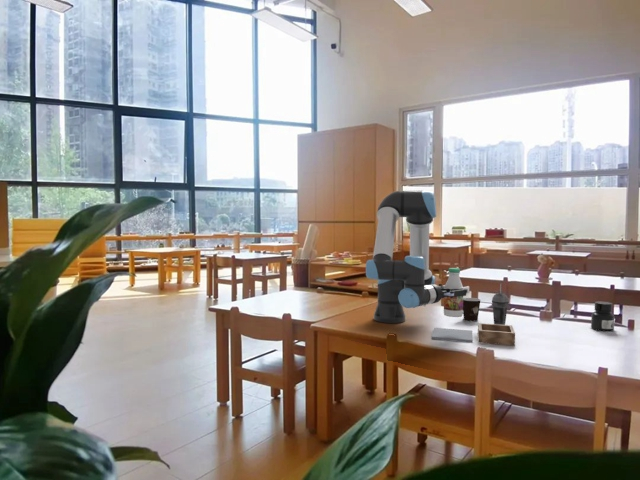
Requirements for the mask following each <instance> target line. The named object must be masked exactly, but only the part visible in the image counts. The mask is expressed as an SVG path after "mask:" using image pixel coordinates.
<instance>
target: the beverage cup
mask: <svg viewBox="0 0 640 480" xmlns="http://www.w3.org/2000/svg"><path fill="white" fill-rule="evenodd" d="M491 304H492V314H493V315H492V316H493V324H498V325H506V320H507V313H508V307H509V298H508V296H507V295H506V294H505V293H503V292H502V283H500V284H499V292H497V293H494V295H493V296H492V299H491Z"/></svg>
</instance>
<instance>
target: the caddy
mask: <svg viewBox="0 0 640 480" xmlns="http://www.w3.org/2000/svg"><path fill="white" fill-rule="evenodd" d="M477 339H478V344H485V345H486V344H489V345H501V346H512V347H515V346H516V332H515V330H514V326H513V325H510V324H505V325H498V324H494V323H484V322H483V323H481V322H478V323H477Z"/></svg>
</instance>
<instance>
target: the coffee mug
mask: <svg viewBox="0 0 640 480" xmlns="http://www.w3.org/2000/svg"><path fill="white" fill-rule="evenodd" d="M480 306H481V299H480V298H476V297H463V315H462V316H463V320H464V321H467V322H477V321H478V319H479V311H480Z"/></svg>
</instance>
